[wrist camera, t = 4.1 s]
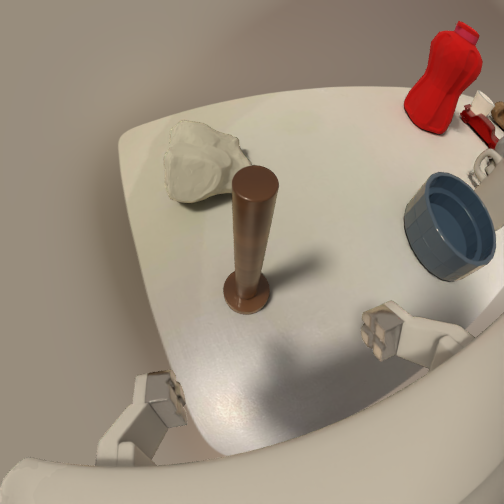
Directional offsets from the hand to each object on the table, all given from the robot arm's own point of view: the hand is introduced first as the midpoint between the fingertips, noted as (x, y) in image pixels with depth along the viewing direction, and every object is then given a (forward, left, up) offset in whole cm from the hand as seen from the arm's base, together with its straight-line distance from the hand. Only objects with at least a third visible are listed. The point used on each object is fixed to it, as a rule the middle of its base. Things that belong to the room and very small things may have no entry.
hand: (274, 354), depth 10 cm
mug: (+17, -43, -15) cm, 49 cm away
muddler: (+7, 0, -15) cm, 17 cm away
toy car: (+38, -62, -15) cm, 74 cm away
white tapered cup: (+49, -72, -15) cm, 88 cm away
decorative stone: (+22, +3, -15) cm, 27 cm away
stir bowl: (+11, -27, -15) cm, 33 cm away
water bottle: (+37, -40, -15) cm, 57 cm away
